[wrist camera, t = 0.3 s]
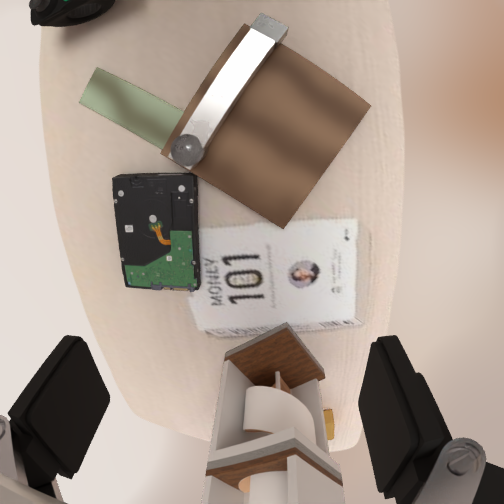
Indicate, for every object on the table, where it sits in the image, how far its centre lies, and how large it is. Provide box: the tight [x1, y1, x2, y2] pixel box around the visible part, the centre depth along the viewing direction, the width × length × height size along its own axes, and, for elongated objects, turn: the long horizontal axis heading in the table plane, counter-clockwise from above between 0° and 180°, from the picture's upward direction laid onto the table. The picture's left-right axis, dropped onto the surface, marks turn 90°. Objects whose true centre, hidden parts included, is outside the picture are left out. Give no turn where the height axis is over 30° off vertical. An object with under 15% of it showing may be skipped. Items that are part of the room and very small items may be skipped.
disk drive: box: [112, 173, 201, 292], centre depth 38 cm, size 10×3×15 cm
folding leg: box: [168, 13, 289, 170], centre depth 28 cm, size 17×3×3 cm, turn 147°
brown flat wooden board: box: [79, 24, 371, 229], centre depth 31 cm, size 17×30×2 cm, turn 57°
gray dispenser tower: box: [201, 322, 345, 504], centre depth 30 cm, size 11×11×35 cm
